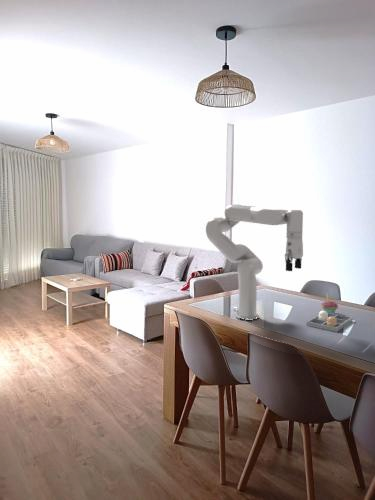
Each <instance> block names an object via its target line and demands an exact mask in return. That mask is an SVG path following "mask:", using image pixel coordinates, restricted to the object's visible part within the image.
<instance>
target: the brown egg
mask: <svg viewBox="0 0 375 500" xmlns="http://www.w3.org/2000/svg"><path fill="white" fill-rule="evenodd" d="M327 326H332V327H337V320H336V318H335V317H332V316H331V317H328V319H327Z"/></svg>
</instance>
